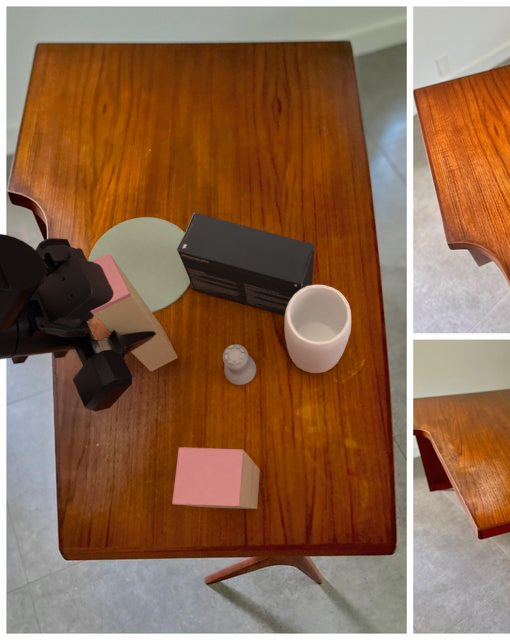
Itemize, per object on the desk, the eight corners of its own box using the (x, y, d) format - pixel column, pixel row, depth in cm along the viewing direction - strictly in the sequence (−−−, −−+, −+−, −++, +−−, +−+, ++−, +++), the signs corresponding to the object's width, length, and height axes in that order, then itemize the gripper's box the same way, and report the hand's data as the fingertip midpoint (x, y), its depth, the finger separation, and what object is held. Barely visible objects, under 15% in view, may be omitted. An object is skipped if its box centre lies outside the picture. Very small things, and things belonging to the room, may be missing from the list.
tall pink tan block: (210, 507, 69) (171, 504, 48) (214, 467, 70) (178, 446, 49) (257, 509, 69) (239, 506, 48) (260, 468, 71) (243, 449, 50)
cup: (277, 332, 77) (273, 294, 64) (331, 313, 79) (338, 272, 65) (297, 386, 75) (297, 358, 61) (353, 365, 76) (364, 334, 63)
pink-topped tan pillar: (150, 372, 72) (90, 312, 51) (135, 341, 73) (70, 270, 52) (178, 357, 73) (129, 293, 52) (163, 327, 74) (109, 252, 53)
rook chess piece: (228, 389, 74) (220, 375, 67) (221, 359, 76) (213, 342, 68) (259, 381, 75) (255, 366, 67) (252, 351, 76) (247, 333, 69)
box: (314, 281, 80) (316, 242, 69) (301, 321, 78) (301, 288, 67) (207, 252, 81) (192, 209, 70) (192, 290, 79) (174, 253, 68)
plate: (97, 327, 76) (96, 326, 76) (80, 233, 82) (79, 231, 81) (207, 298, 79) (206, 297, 78) (183, 208, 84) (183, 206, 83)
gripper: (75, 367, 43) (216, 344, 56) (-1, 195, 49) (144, 210, 61) (26, 430, 49) (164, 397, 62) (-37, 270, 54) (102, 269, 67)
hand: (144, 316), depth 63 cm, fingers closed on pink-topped tan pillar, 5 cm apart
